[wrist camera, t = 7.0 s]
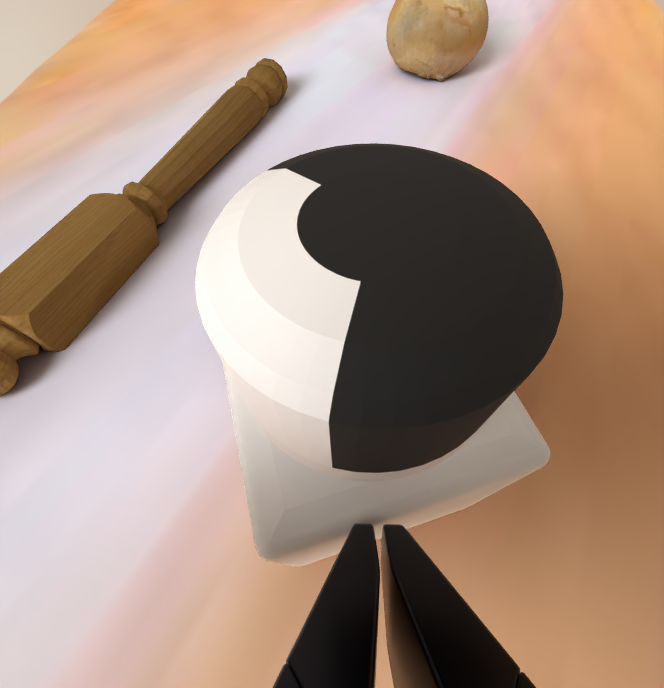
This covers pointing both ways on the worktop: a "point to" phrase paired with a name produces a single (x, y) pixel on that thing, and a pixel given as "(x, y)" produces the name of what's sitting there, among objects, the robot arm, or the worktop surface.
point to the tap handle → (117, 230)
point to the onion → (436, 35)
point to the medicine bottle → (376, 340)
